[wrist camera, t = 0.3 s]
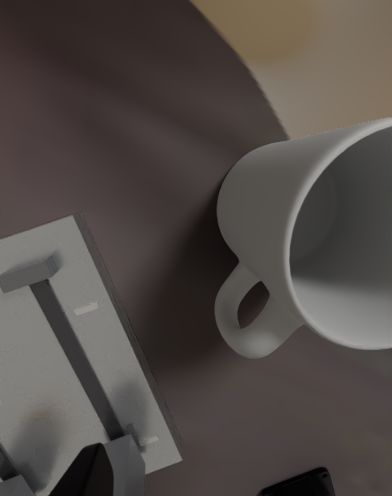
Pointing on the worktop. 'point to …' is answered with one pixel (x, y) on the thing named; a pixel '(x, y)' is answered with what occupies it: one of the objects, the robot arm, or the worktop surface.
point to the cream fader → (126, 467)
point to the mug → (311, 239)
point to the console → (70, 359)
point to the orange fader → (15, 487)
